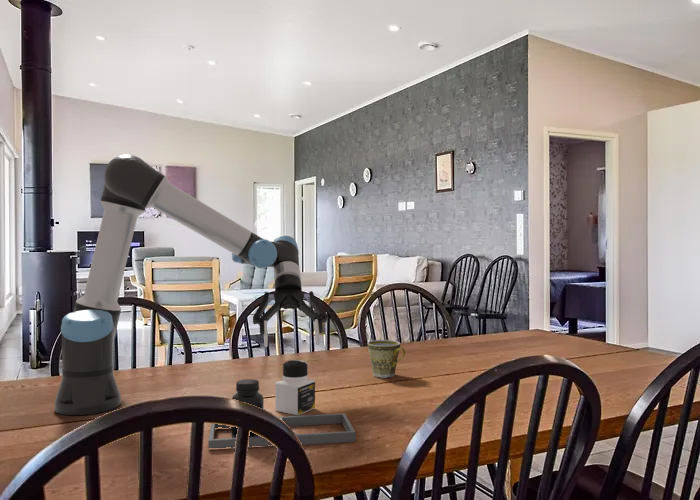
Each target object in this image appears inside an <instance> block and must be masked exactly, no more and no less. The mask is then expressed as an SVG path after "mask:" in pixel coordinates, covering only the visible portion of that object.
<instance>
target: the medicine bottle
mask: <svg viewBox="0 0 700 500" xmlns="http://www.w3.org/2000/svg"><path fill="white" fill-rule="evenodd" d="M308 368H309V365H308V363H307V361H305V360H300V359H293V360H292V359H291V360H287V361H285V362H283V364H282V378H283V379H281V380H280V381H276V382H275V386H274V387H275V389H274V390H275V392H274V395H275V398H274V401H275V408H274V409H275V412H281V413H284V414H289V415H292V416H302V415H303V414H305V413H307V412H309V411H311V410H314V409H316V381H315V379H309V378H308V377H309V374H308V372H309V371H308V370H309V369H308Z"/></svg>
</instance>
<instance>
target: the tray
mask: <svg viewBox="0 0 700 500" xmlns="http://www.w3.org/2000/svg"><path fill="white" fill-rule="evenodd" d="M346 414H347V413H345V412H344V413H327V414H325V413H324V414H310V415H309V414H307V415H288V416H277V417H278V418H280V419H281V420H282V421H284V422H285V423H286V424H287V425H288V426H287V427H298V426H316V425H317V426H318V425H335V424H342V425H343V428H344V430H345V431H332V432H331V431H330V432H314V433H311V432H310V433H309V432H308V433H299V434H298V433H296V434H295V435H296V436H297V437H298V439H299V440H300V442H301V443H302V445H301V446H304V445H320V444H321V445H322V444H337V443H339V444H340V443H354V442H355V443H356V439H357V438H356V433H357V431H355V428H354V427H353V425H352V423H351V421H350V420H349V418H348V417H347V415H346ZM218 427H222V428H229V427H230V426H226V425H218V424H211V423H210V428H209V435H208V440H207V441H208V444H207V445H208V446H207V447H208V448H226V447H231V448H233V447H235V441H236V438H232V437H227V438H226V437H225V438H215V436H214V433H215V434H216V430H215V428H218ZM268 445H270V446H271V445H272V444H271V443H270V442H268V441H267V440H266V439H264V438H262V437H260V436H258V437H249V447H252V446H268ZM272 446H273V445H272ZM249 447H248V448H247V449H250V448H249ZM274 447H276V446H274ZM208 448H207V449H208Z"/></svg>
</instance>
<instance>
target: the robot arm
mask: <svg viewBox="0 0 700 500" xmlns="http://www.w3.org/2000/svg"><path fill="white" fill-rule="evenodd" d="M103 173H104V174H103V177H104V178H103V179H104V184H103V189H102V193H101V197H100V201H99V202H100V204H101V206H102V207H103V209H104V210H103V214H102V218H101V223H100V227H99V231H98V235H97V239H96V240H97V241H96V244H95V249H94V252H93V256H92V260H91V263H90V264H91V265H90V268H89V273H88V276H87V281H86V284H85V285H86V286H85V289H84V293H83V296H81V297H80V298H78V299H76V301H75V305H74V307H73V308H74V309H73V312H69V313H67V314H66V315H64V317H63V318H62V319H61V326H60V332H61V369H62V371H61V372H62V374H61V375H62V376H61V381H60V384H59V387H58V390H57V393H56V397H55V400H54V411H55V413H57V414H60V415H65V416H66V415H67V416H85V415H86V416H88V415H94V414H99V413H105V412H108V411H111V410H114V409H116V408H117V407H119V406H121V403H122V395H121V391H120V388H119V386H118V384H117V380H116V378H115V377H116V376H115V375H114V341H115V339H116V337H117V331H118V325H119V321H120V317H121V312H122V307H121V306H120V304H119V302H118V299H119V296H120V291H121V287H122V283H123V278H124V274H125V270H126V266H127V262H128V257H129V253H130V249H131V246H132V241H133V237H134V233H135V228H136V224H137V221H138V218H139V216H142V214H144V213H145V212H146V209H151V208H153V209H155V210H156V211H158V212H160V213H162V214H164V215H165V216H167V217H169V218H171V219H173V220H174V221H175V222H177V223H180V225H183V226H184V227H186V228H188V229H190V230H191V231H193V232H195V233H197V234H198V235H201V236H202V237H204V238H206V239H208V240H209V241H211V242H212V243H214V244H215V245H218V246H219V247H222V248H223V249H225V250H227V251H228V252H229V253H231V259H232V261H233V262H234V263H238V264H241V265H243V264H246V265H251V266H253V267H256V268H259V269H264V268H268V267H269V268H273V274H274V275H273V276H274V294H271V293H269V292H268V291H265V292H264V295H263V299H262V301H261V303H260V304H259V306H258V307H257V309H256V311H255V313H254V314H253V316H252V324H253V325H258V327H259V334H260V335H261V336H263V337H264V338H263V339H264V347H265V348H266V347H268V343H269V341H268V340H269V337H268V322H269V320H270V319H271V318H273V317H274V315H276V313H277V312H279V311H280V310H281V309H283V310H288V309H290V310H296V309H298V310H299V311H300V312H303V314H305V315H306V316H307V317H308V318H309V319H310V320H312V321H313V322H314V323H313V328H314V329H313V330H314V337H315V346H319V345H320V342H321V341H320V340H321V339H320V338H321V336H320V334H322V333H323V323H327V322H328V318H329V317H328V316H329V315H328V314H327V312H326V311H325V310H324V308H323V306H322V305H321V304H320V303H319V302H318V300H317V299H316V297H315V294H314V292H313V291H312V290H311V291H309V292H308V293H303V290H302V289H303V288H302V280H301V279H302V277H301V269H300V268H301V267H300V257H299V254H300V253H299V247H298V244H297V241H296V239H295V238H294V237H292V236H289V235H283V236H282V235H281V236H280V235H279V236H277V237H275V239H274V240H273V241H272V240H271V241H270V240H268V239H265V238H263V237H261V236H259V235H257V234H256V233H254V232H252V231H251V230H250V229H247V228H246V227H244V226H243V225H241V224H239V223H237V222H236V221H234V220H232V219H231V218H229V217H228V216H226V215H224V214H222V213H221V212H219V211H217V210H216V209H214V208H212V207H210V206H209V205H208V204H205V203H204V202H203V201H200V200H199V199H197V198H195V197H194V196H192V195H190V194H189V193H187V192H185V191H184V190H182V189H180V188H179V187H177V186H175V185H174V184H172V183H170V182H169V181H168V179H167V176H166V175H165V174H163V173H161V172H159V171H158V170H156V169H155V168H154V167H152V166H151V165H150V164H148V163H147V162H146V161H145V160H143V159H142V158H140V157H139V156H136V155H133V154H122V155H117V156H116V157H114V158H113V159H111V160H110V161H109V162H108V163H107V165H106V166H105V170H104V172H103ZM272 300H273V301H274V303H273V304H272V306H270V307H269V309H267V307H268V305H269V304H270V303H271V302H272ZM304 300H306V301H304ZM306 302H307V303H309V304H310V306H311V307H310V306H309V305H308V304H307V303H306ZM266 309H267V310H266ZM264 312H265V313H264Z"/></svg>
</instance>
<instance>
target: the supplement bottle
mask: <svg viewBox="0 0 700 500" xmlns="http://www.w3.org/2000/svg"><path fill="white" fill-rule="evenodd" d="M235 386H236V387H235V391H236V392H235V393H234V394H233V396H232V397H231V399H236V400H239V401H242V402H246V403H249V404H252V405H255V406H257V407H260V408H262V409H263V410H264V396H263V395H262V393H260V392H259V391H260V382H259V380H258V379H252V378H247V379H246V378H243V379H239V380H237V381H236V384H235ZM237 429H238V428H236V427H231V429H230V438H236V434H237ZM249 437H258V435H256V434H254V433H252V432H250V436H249Z"/></svg>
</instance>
